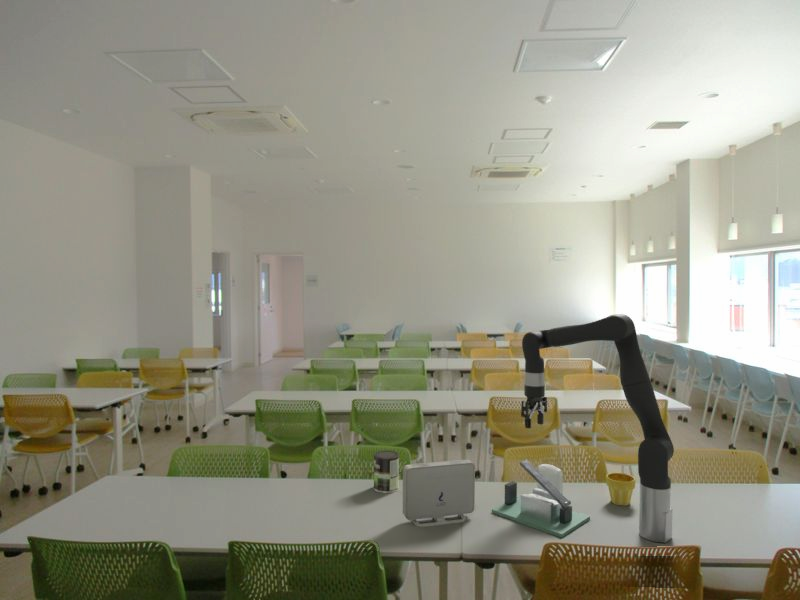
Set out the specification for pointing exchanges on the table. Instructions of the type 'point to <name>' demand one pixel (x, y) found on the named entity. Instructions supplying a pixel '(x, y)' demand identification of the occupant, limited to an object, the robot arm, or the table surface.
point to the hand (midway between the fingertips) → (534, 426)
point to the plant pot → (620, 487)
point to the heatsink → (538, 504)
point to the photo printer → (552, 476)
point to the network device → (438, 491)
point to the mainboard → (552, 528)
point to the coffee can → (386, 471)
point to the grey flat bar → (545, 483)
